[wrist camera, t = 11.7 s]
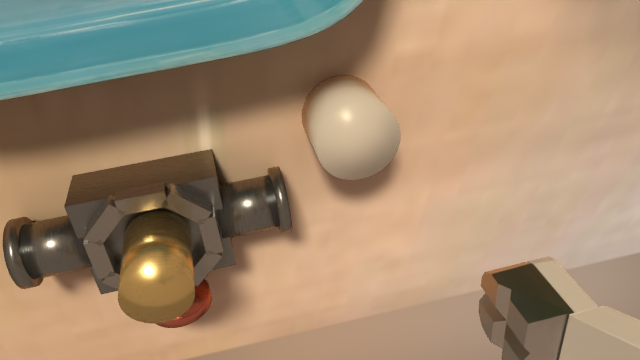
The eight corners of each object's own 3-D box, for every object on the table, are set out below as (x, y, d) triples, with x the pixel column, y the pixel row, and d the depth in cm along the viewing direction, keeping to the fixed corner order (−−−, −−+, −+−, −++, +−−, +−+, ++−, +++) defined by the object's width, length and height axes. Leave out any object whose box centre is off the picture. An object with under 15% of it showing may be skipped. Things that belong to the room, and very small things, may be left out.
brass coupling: (183, 205, 39) (186, 260, 34) (196, 255, 41) (201, 313, 36) (115, 219, 38) (108, 277, 33) (133, 269, 40) (129, 330, 35)
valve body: (271, 133, 42) (284, 168, 37) (290, 255, 48) (302, 298, 44) (3, 183, 39) (-18, 228, 35) (62, 306, 46) (51, 357, 41)
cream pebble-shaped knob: (376, 68, 41) (399, 94, 37) (379, 139, 44) (401, 170, 40) (297, 83, 40) (312, 111, 36) (306, 154, 44) (320, 187, 39)
